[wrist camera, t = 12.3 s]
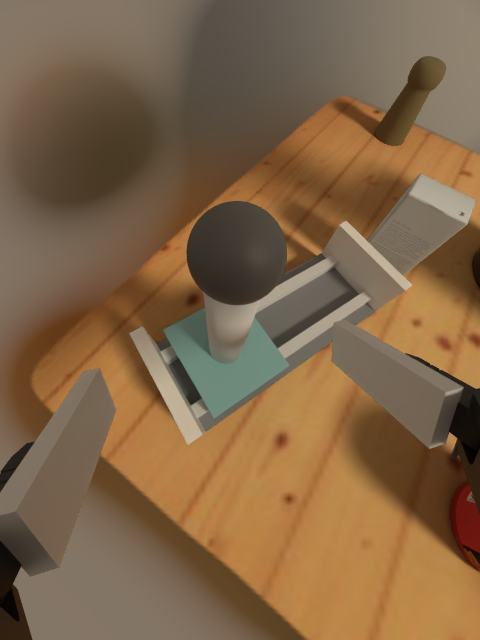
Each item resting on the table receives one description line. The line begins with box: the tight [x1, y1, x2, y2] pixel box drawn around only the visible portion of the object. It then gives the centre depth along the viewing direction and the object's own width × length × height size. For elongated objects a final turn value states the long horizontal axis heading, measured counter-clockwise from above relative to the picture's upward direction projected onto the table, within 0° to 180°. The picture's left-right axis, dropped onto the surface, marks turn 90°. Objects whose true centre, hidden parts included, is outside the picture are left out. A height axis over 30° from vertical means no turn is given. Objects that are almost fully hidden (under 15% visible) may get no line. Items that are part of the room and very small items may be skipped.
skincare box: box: [367, 174, 476, 276], centre depth 28 cm, size 6×4×12 cm
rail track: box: [129, 221, 412, 445], centre depth 25 cm, size 26×10×7 cm, turn 124°
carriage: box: [163, 201, 290, 418], centre depth 16 cm, size 8×9×17 cm
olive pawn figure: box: [375, 56, 446, 146], centre depth 43 cm, size 6×6×11 cm
